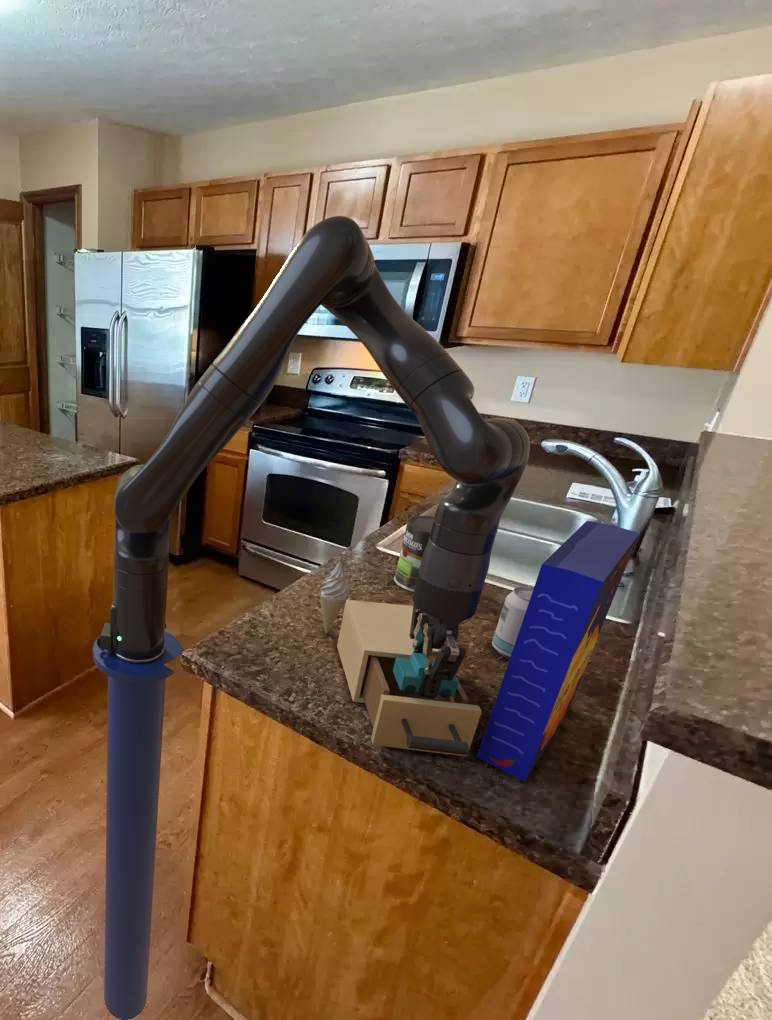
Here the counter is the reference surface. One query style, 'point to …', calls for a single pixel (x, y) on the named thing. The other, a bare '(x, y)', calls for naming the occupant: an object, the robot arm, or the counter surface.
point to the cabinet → (372, 638)
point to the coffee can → (413, 551)
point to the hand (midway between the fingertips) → (421, 683)
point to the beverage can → (511, 620)
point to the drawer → (416, 714)
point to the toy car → (418, 676)
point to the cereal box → (555, 644)
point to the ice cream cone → (333, 595)
